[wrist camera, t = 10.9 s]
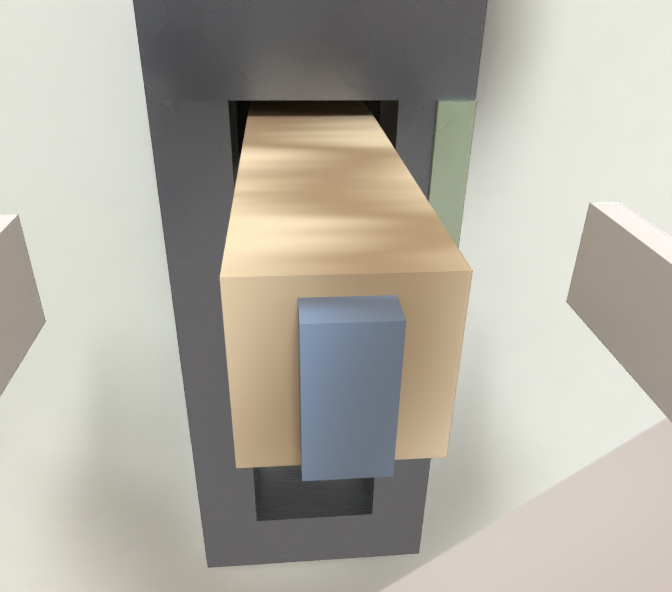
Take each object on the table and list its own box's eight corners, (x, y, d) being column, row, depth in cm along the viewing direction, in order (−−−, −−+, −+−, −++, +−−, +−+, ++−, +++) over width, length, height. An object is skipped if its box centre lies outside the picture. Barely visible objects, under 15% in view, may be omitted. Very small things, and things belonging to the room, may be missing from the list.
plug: (255, 204, 23) (233, 501, 11) (250, 97, 21) (215, 303, 9) (358, 202, 24) (457, 488, 11) (361, 97, 22) (488, 295, 9)
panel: (214, 508, 31) (207, 571, 28) (153, -14, 20) (130, -9, 16) (405, 496, 32) (419, 556, 29) (456, -9, 20) (490, -4, 17)
